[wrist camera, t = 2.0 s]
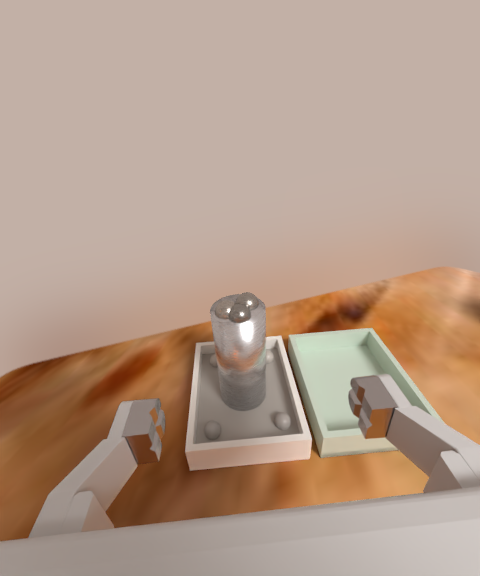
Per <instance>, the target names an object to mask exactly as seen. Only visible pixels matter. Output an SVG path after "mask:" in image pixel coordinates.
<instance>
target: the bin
mask: <svg viewBox="0 0 480 576" xmlns="http://www.w3.org/2000/svg"><path fill="white" fill-rule="evenodd" d="M288 354H289V357H290V360H291V364H292V367H293V370H294V373H295V377H296V380H297V383H298V386H299V390H300V393H301V396H302V399H303V403H304V406H305V409H306V412H307V416H308V419H309V422H310V425H311V429H312V432H313V435H314V438H315V442H316V445H317V448H318V451H319V455H320V458H324V457H334V456H344V455H354V454H364V453H374V452H384V451H394V450H398V449H397V448H396V447H395V446H394V445H393V444H391V443H390V442H389V441H388V440H387V439H386V438H373V439H365V438H364V436H363V434H362V432H361V430H360V428H359V426H358V421H359V418H358V417H356V416H355V415H353V413H352V411H351V408H350V405H349V400H348V394H349V391H350V390H351V389H352V387H351V385H350V382H351V379H352V378H355V377H363V376H371V375H383V374H389V375H390V376H391V377H392V379H393V380H394V381H395V383H396V384H397V386H398V387H399V388H400V390H401V391H402V393H403V394H404V395H405V397H406V398H407V400H408V401H409V402H410V404H411V405H412V406H417V407H418V408H420V409H422V410H423V411H425V412H426V413H428V414H430V415H431V416H433V417H435V418H436V419H438V420H439V421H441V422H443V420H442V419H441V418H440V417H439V415H438V414H437V413H436V411H435V410H434V409H433V407H432V406H431V405H430V403H429V402H428V401H427V399H426V398H425V397H424V396H423V394H422V393H421V392H420V390H419V389H418V388H417V386H416V385H415V384H414V382H413V381H412V380H411V378H410V377H409V376H408V375H407V373H406V372H405V371H404V369H403V368H402V367H401V365H400V364H399V363H398V361H397V360H396V359H395V357H394V356H393V355H392V354H391V352H390V351H389V350H388V348H387V347H386V346H385V344H384V343H383V342H382V340H381V339H380V338H379V336H378V335H377V334H376V333H375V331H374V330H373V329H372V328H366V329H354V330H342V331H331V332H319V333H307V334H296V335H289V342H288ZM443 423H444V422H443ZM444 424H445V423H444Z"/></svg>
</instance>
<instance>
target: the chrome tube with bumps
mask: <svg viewBox="0 0 480 576" xmlns="http://www.w3.org/2000/svg"><path fill="white" fill-rule="evenodd" d="M210 313H211V321H212V329H213V337H214V344H215V352H216V360H217V367H218V375H219V383H220V391H221V397H222V400H223V402H224V403H225V404H226V405H227V406H228V407H229V408H231V409H233V410H237V411H249V410H253V409H255V408H257V407H258V406H260V405H261V404H262V402H263V401H264V399H265V397H266V313H265V305H264V303H263V302H262V301H261V300H260V299H258V298H257V297H256V296H255V295H253V294H252V293H248V292H246V293H242V294H237V295H230V296H226V297H224V298H221V299H219V300H218V301H216V302H215V303H214V304H213V305H212V307H211V310H210Z"/></svg>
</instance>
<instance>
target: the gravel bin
mask: <svg viewBox="0 0 480 576" xmlns="http://www.w3.org/2000/svg"><path fill="white" fill-rule="evenodd" d="M311 445H312V437H311V434H310V431H309V427H308V424H307V421H306V417H305V414H304V410H303V407H302V404H301V400H300V397H299V394H298V390H297V387H296V384H295V380H294V377H293V374H292V370H291V367H290V364H289V360H288V357H287V354H286V350H285V347H284V344H283V340H282V337H281V336H272V337H266V397H265V399H264V401H263V402H262V404H261V405H260V406H258V407H257V408H255V409H253V410H249V411H237V410H233V409H231V408H229V407H228V406H227V405H226V404H225V403H224V402H223V400H222V397H221V391H220V383H219V375H218V367H217V360H216V352H215V344H214V342H202V343H196V350H195V360H194V370H193V379H192V389H191V399H190V408H189V418H188V428H187V437H186V447H185V454H186V457H187V461H188V465H189V469H190V471H192V470H203V469H213V468H223V467H233V466H243V465H253V464H263V463H273V462H283V461H293V460H303V459H310V453H311Z"/></svg>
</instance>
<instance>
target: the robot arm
mask: <svg viewBox="0 0 480 576" xmlns="http://www.w3.org/2000/svg"><path fill="white" fill-rule="evenodd" d="M350 385H351V387H352V389H351V390H350V391H349V394H348V400H349V405H350V408H351V411H352V413H353V415H355V416H356V417H358V418H359V421H358V426H359V428H360V430H361V432H362V434H363V436H364V438H365V439H373V438H386V439H387V440H388V441H389V442H390V443H391V444H393V445H394V446H395V447H396V448H397V449H398V450H399V451H401V452H402V453H403V454H404V455H405V456H406V457H407V458H409V459H410V460H411V461H412V462H413V463H414V464H415V465H416V466H418V467H419V468H420V469H421V470H422V471H423V472H424V473H426V474H427V475H428V476H429V479H428V481H427V483H426V485H425V488H424V490H423V492H424V493H418V494H410V495H401V496H392V497H383V498H374V499H366V500H357V501H348V502H339V503H330V504H322V505H313V506H304V507H295V508H286V509H278V510H269V511H260V512H251V513H243V514H234V515H225V516H216V517H208V518H199V519H190V520H182V521H173V522H164V523H155V524H147V525H138V526H129V527H120V528H114V525H113V523H112V522H111V520H110V519H109V517H108V516H107V514H106V513H105V512H106V510H107V509H108V508H109V506H110V505H111V503H112V502H113V501H114V499H115V498H116V496H117V495H118V493H119V492H120V491H121V489H122V488H123V486H124V485H125V483H126V482H127V481H128V479H129V478H130V476H131V475H132V474H133V472H134V471H135V469H136V468H137V466H138V465H139V464H146V463H153V462H159V459H160V453H161V448H162V444H161V441H160V439H161V437H162V436H163V435H164V431H165V415H164V412H163V410H161V409H160V407H161V402H160V400H159V399H146V400H134V401H123V402H121V404H120V405H119V407H118V410H117V412H116V415H115V418H114V421H113V423H112V426H111V429H110V432H109V434H108V437H107V439H103V440H102V441H101V442H100V443H99V444H98V445H97V446H96V447H95V448H94V449H93V450H92V451H91V452H90V453H89V454H88V455H87V456H86V457H85V458H84V459H83V460H82V461H81V462H80V463H79V464H78V465H77V466H76V467H75V468H74V469H73V470H72V471H71V472H70V473H69V474H68V475H67V476H66V477H65V478H64V479H63V480H62V481H61V482H60V483H59V484H58V485H57V486H56V487H55V488H54V489H53V490H52V491H51V492H50V493H49V494H48V497H47V499H46V501H45V503H44V505H43V507H42V509H41V511H40V514H39V516H38V518H37V520H36V522H35V524H34V526H33V529H32V531H31V533H30V535H29V537H28V538H24V539H16V540H7V541H0V576H480V445H478V444H477V443H475V442H474V441H472V440H470V439H469V438H467V437H465V436H464V435H462V434H461V433H459V432H457V431H456V430H454V429H452V428H451V427H449V426H448V425H446V424H444V423H443V422H441V421H439V420H438V419H436V418H435V417H433V416H431V415H430V414H428V413H426V412H425V411H423V410H422V409H420V408H418V407H417V406H412V405H411V404H410V402H409V401H408V400H407V398H406V397H405V395H404V394H403V393H402V391H401V390H400V388H399V387H398V386H397V384H396V383H395V381H394V380H393V379H392V377H391V376H390V375H389V374H383V375H371V376H363V377H355V378H352V379H351V382H350Z"/></svg>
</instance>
